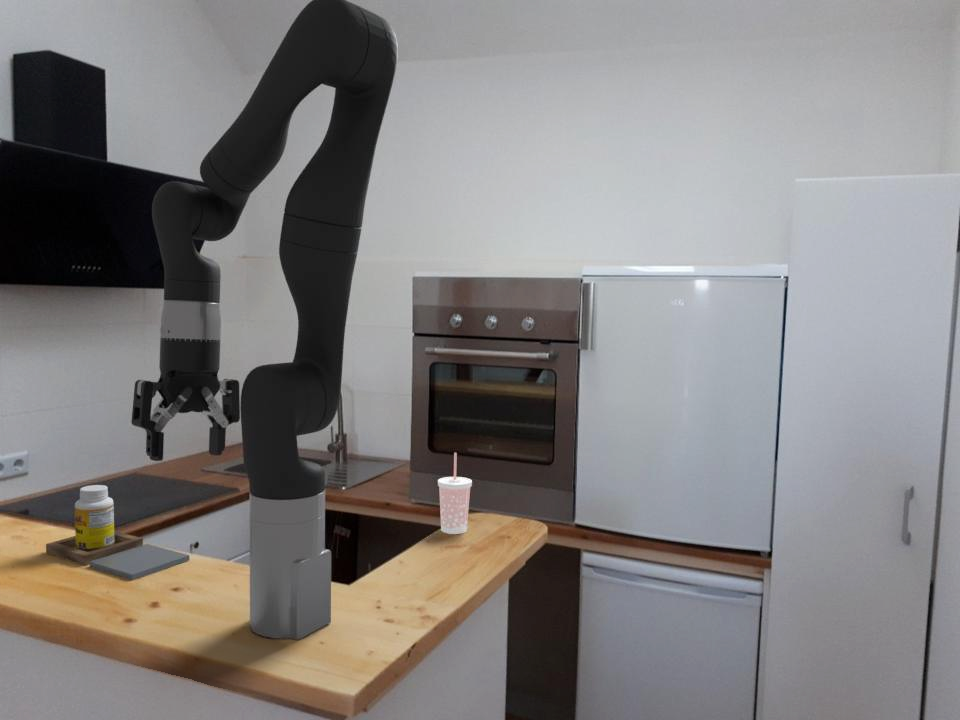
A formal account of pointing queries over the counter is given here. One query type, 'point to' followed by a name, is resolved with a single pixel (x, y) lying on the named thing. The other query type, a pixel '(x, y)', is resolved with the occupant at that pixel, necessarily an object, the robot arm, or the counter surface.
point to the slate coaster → (139, 561)
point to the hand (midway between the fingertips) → (186, 457)
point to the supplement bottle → (94, 518)
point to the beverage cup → (454, 502)
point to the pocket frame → (68, 551)
